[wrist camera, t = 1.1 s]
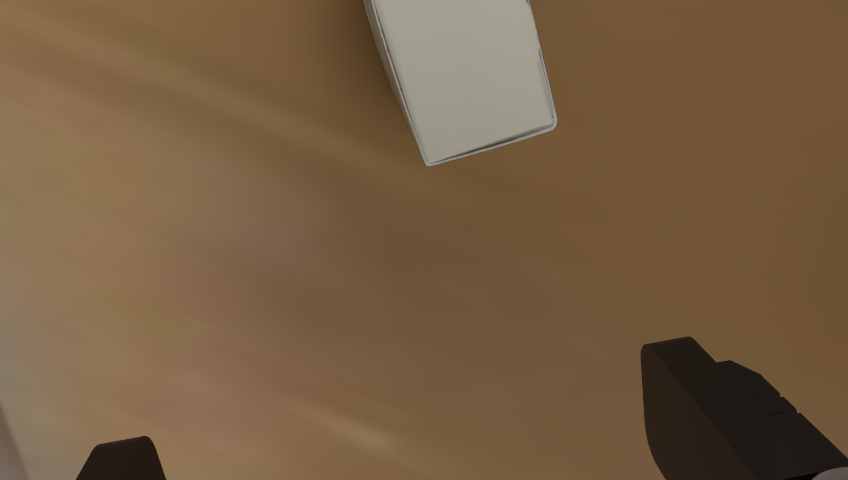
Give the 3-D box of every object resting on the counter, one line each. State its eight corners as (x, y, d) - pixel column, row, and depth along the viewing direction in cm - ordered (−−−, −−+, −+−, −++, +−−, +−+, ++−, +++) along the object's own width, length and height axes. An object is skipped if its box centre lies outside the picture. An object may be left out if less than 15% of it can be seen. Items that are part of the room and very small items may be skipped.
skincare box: (350, -36, 31) (352, -49, 19) (448, -68, 31) (508, -100, 19) (396, 109, 33) (423, 174, 22) (487, 79, 33) (563, 129, 22)
